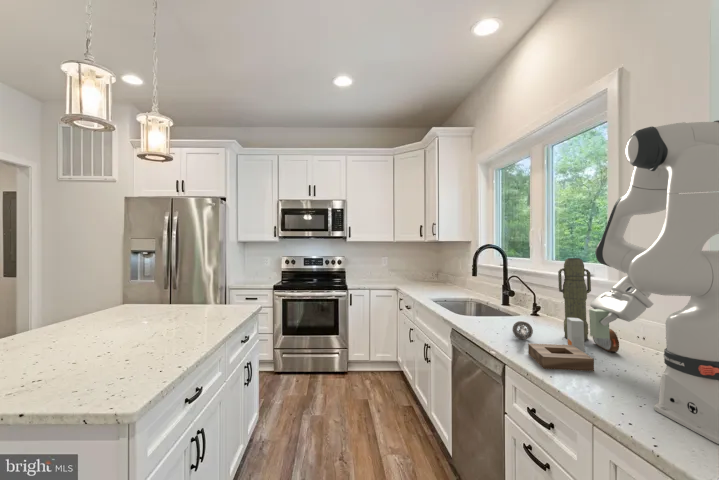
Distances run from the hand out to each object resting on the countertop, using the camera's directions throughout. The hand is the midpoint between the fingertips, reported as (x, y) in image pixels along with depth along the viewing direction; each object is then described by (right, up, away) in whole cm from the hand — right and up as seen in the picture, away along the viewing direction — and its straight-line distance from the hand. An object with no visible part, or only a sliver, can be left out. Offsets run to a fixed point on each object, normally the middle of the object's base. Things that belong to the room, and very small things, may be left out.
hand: (597, 322), depth 111 cm
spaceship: (-10, -15, +30) cm, 35 cm away
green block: (+1, -5, 0) cm, 5 cm away
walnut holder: (-12, -14, +2) cm, 19 cm away
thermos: (+14, -15, +31) cm, 37 cm away
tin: (+15, -15, +16) cm, 27 cm away
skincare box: (+3, -15, +15) cm, 21 cm away
